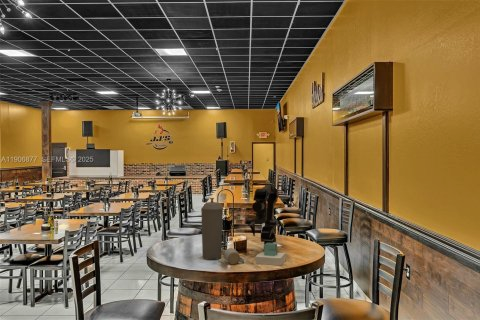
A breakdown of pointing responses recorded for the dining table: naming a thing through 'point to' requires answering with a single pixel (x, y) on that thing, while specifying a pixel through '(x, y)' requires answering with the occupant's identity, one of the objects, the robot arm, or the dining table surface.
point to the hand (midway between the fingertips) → (261, 236)
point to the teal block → (270, 249)
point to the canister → (211, 230)
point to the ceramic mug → (232, 256)
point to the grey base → (270, 259)
